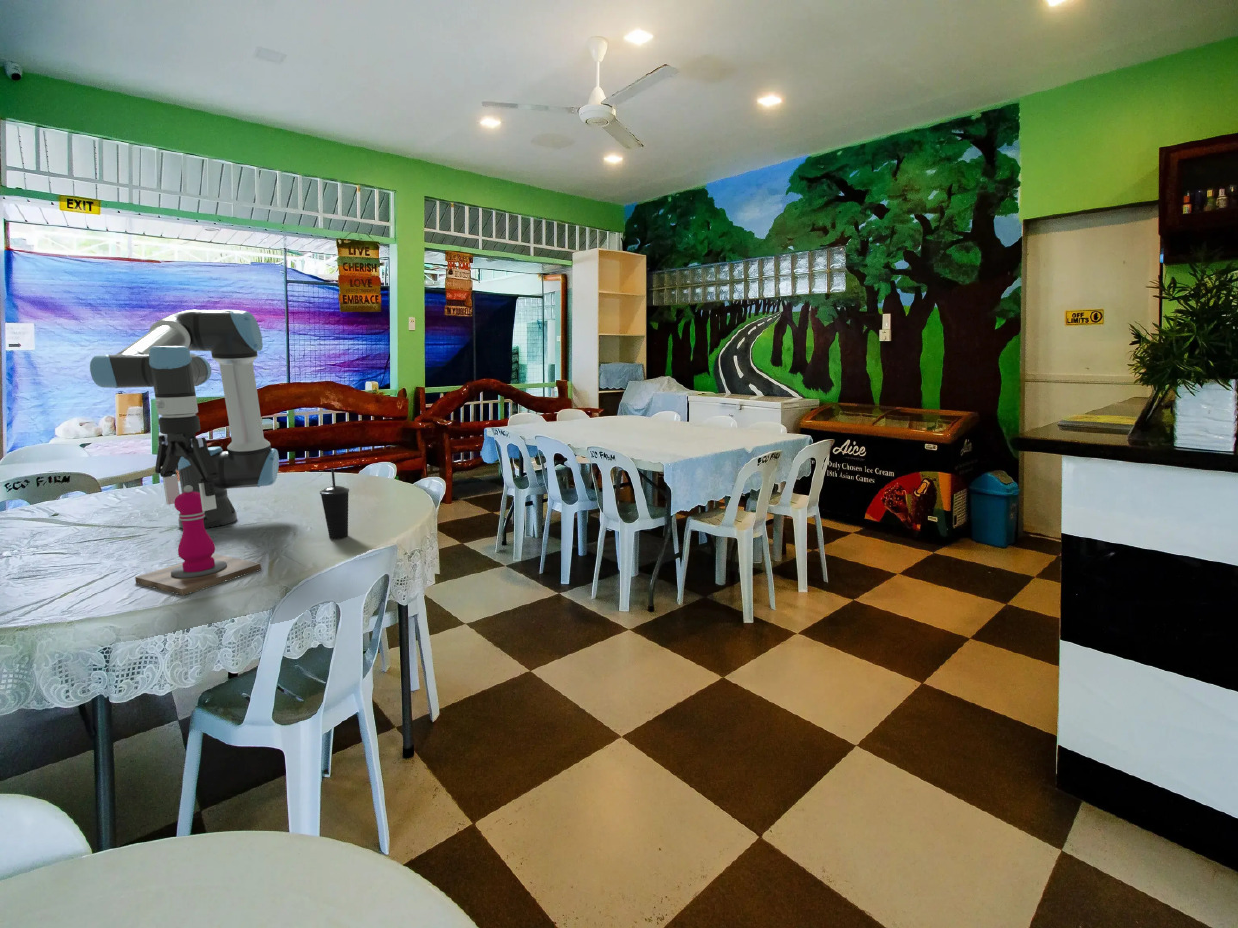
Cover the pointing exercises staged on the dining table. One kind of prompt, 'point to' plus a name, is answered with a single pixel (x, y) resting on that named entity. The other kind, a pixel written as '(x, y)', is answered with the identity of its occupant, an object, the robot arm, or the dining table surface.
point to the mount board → (197, 575)
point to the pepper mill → (194, 533)
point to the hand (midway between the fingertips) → (191, 506)
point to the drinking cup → (336, 509)
